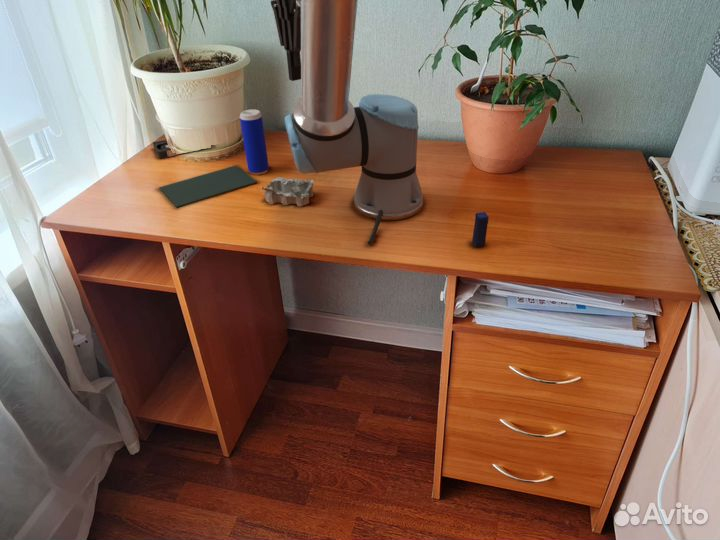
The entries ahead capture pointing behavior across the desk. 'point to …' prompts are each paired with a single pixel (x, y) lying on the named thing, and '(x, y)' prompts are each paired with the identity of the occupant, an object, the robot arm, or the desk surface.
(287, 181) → the egg carton
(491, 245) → the desk surface
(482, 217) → the eraser
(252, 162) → the beverage can
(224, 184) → the mat
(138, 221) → the desk surface
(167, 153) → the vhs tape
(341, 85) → the robot arm
